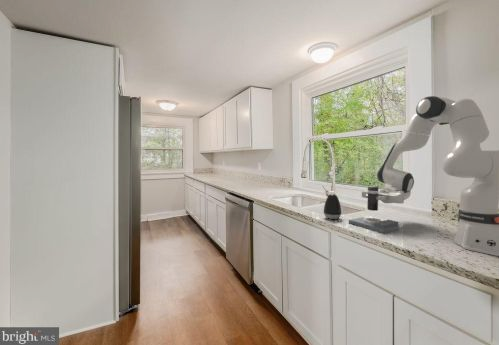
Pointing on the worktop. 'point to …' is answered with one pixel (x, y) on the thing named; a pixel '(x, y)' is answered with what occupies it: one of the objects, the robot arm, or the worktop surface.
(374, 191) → the lens
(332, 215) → the pump dispenser
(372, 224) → the mount
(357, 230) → the worktop surface
